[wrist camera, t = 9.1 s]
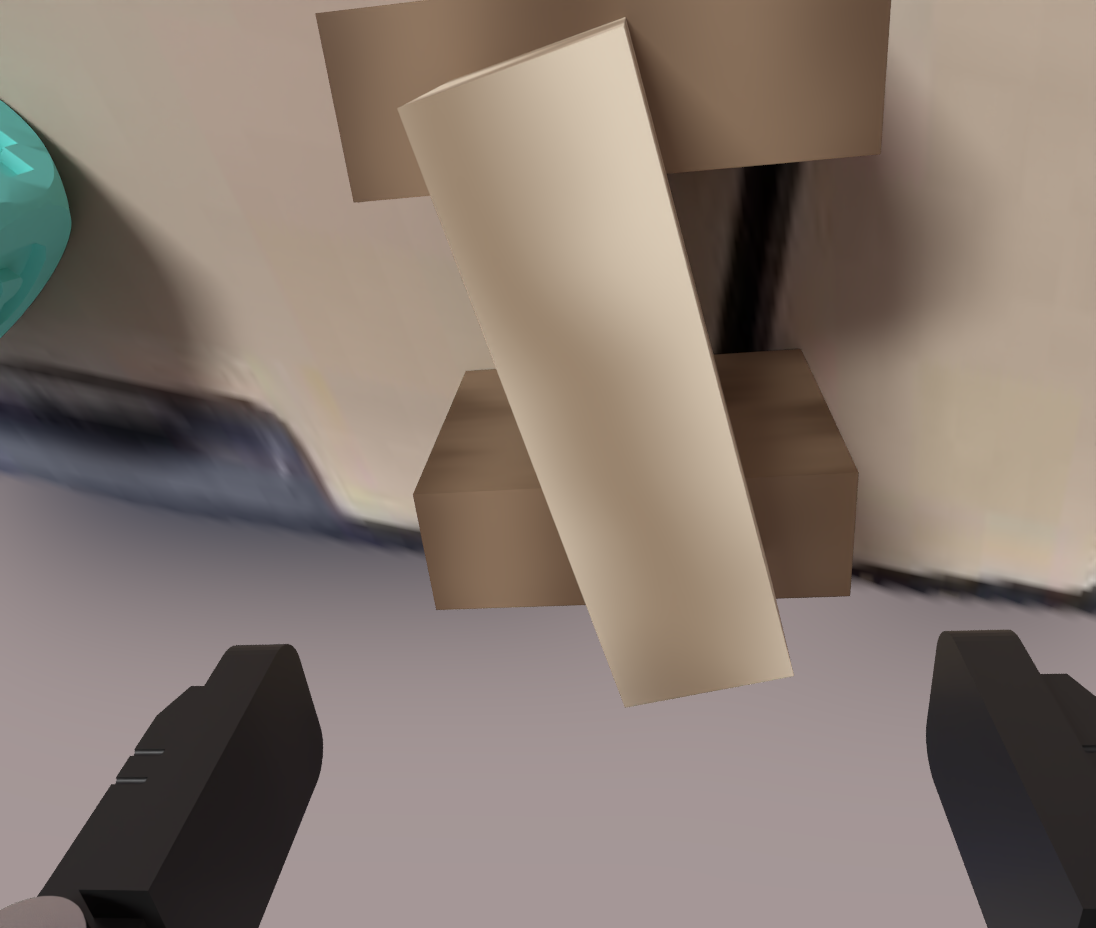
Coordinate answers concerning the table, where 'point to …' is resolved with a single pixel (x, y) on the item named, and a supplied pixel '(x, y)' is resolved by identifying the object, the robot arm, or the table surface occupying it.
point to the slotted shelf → (686, 145)
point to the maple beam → (605, 356)
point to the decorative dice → (27, 217)
